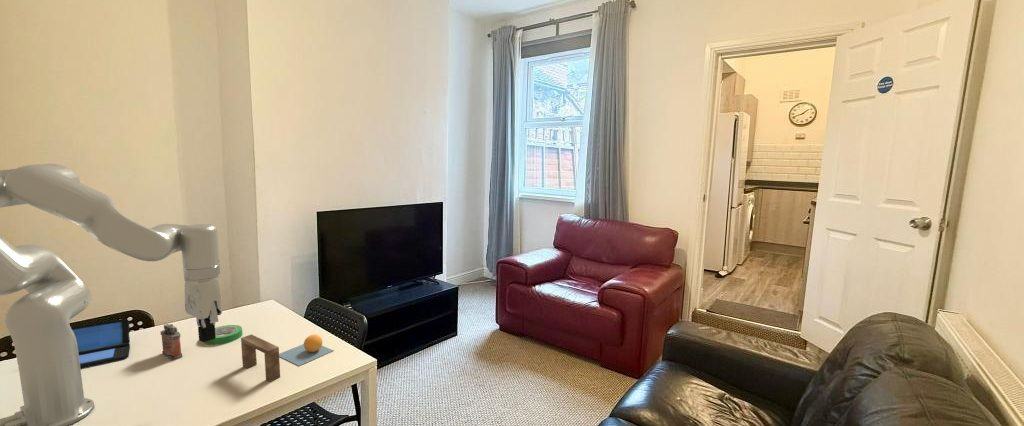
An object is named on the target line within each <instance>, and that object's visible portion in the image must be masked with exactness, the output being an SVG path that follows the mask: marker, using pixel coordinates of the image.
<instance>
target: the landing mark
mask: <svg viewBox="0 0 1024 426" xmlns="http://www.w3.org/2000/svg"><path fill="white" fill-rule="evenodd" d="M334 350H335V349H331V348H329V347H326V346H324V345H322V346H321V348H320V349H319V350H318V351H316V352H309V351H307V350H306V349H305V348H304V343H303V344H300V345H298V346H296V347H293V348H291V349H287V350H285V351H283V352H279V358H281V359H283V360H285V361H287V362H289V363H291V364H293V365H296V366H298V367H301V366H302V365H304V364H308V363H310V362H312V361H314V360H316V359H319V358H320V357H323V356H326V355H328V354H330V353H332V352H334Z"/></svg>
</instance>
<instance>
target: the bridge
mask: <svg viewBox="0 0 1024 426" xmlns="http://www.w3.org/2000/svg"><path fill="white" fill-rule="evenodd" d="M240 343H241V346H240V347H241V359H242V361H241V363H242V368H244V369H250V368H252V367H253V366H256V365H257V361H258V359H257V351H259V352H261V353H263V354H264V369H265V380H266V381H268V382H272V381H274V380H277V379H279V378H281V367H280V366H281V365H280V364H281V363H280V357H279V354H280V348H279V346H278V345H275V344H273V343H271V342H269V341H267V340H264V339H262V338H260V337H258V336H257V335H253V334H248V335H246V336H241V337H240Z"/></svg>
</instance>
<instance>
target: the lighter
mask: <svg viewBox="0 0 1024 426" xmlns="http://www.w3.org/2000/svg"><path fill="white" fill-rule="evenodd" d="M160 335H161V342H162V343H161V344H162V356H163V357H164V358H165V359H168V360H172V361H174V360H175V361H176V360H180V359H181V358H183V353H182V347H181V345H182V344H181V333H180V332H179V331H178V328H177V327H176V326H175V325H173V323H170V324H169V323H166V324H163V330H161V331H160Z"/></svg>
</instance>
